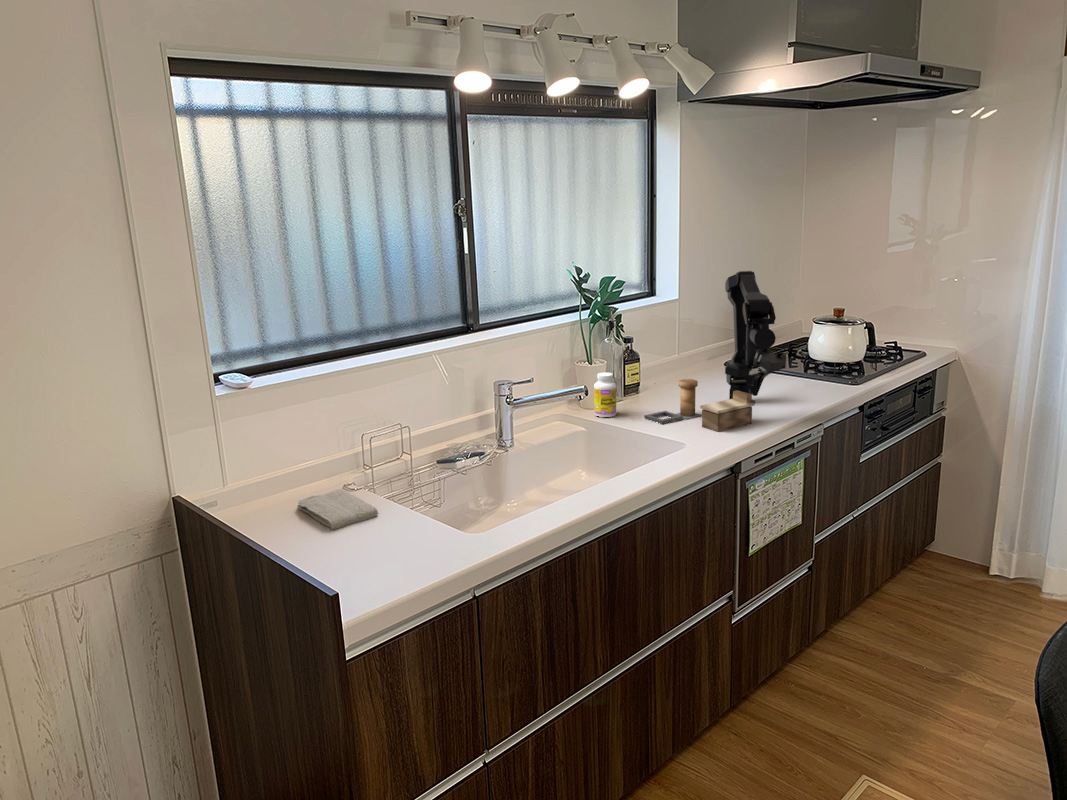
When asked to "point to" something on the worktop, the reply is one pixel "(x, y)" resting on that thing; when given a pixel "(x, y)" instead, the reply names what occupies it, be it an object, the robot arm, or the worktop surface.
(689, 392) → the key peg
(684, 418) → the felt pad
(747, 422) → the toolbox
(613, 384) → the supplement bottle
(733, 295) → the robot arm
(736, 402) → the lid
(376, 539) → the worktop surface
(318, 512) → the washcloth
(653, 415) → the keeper
